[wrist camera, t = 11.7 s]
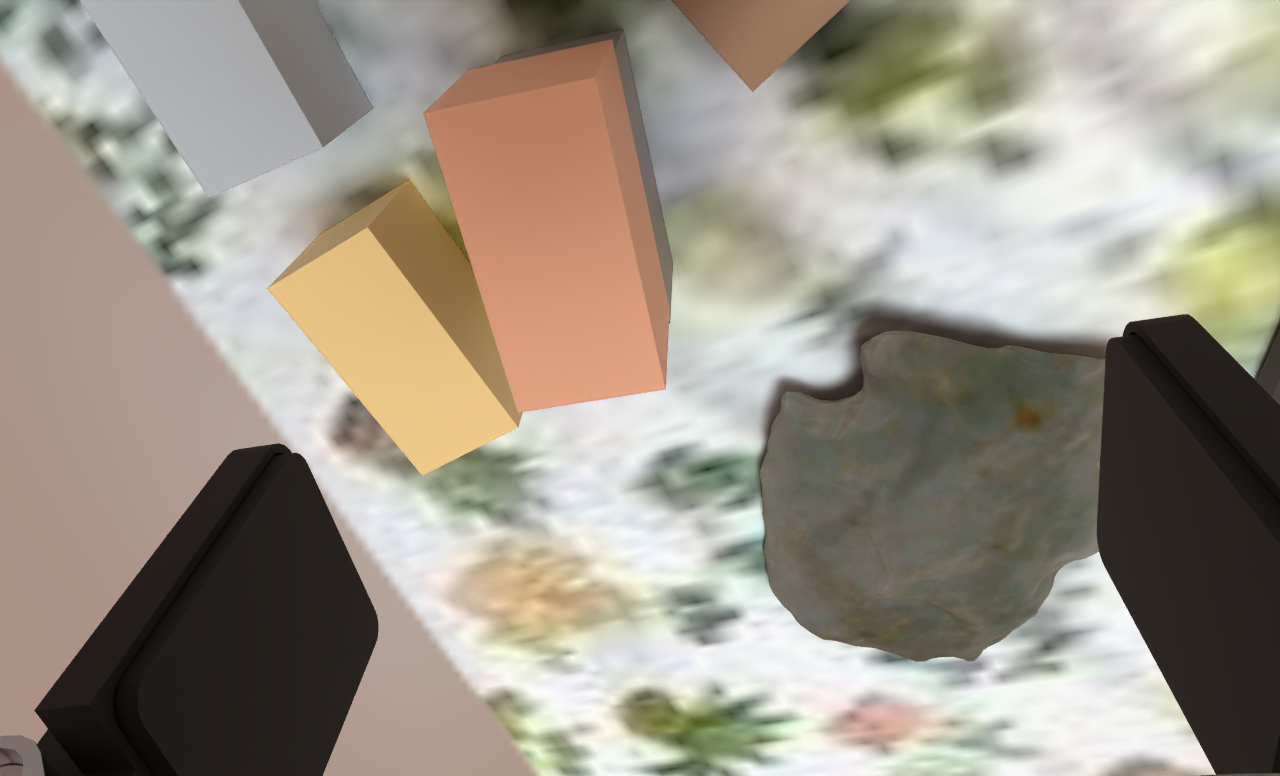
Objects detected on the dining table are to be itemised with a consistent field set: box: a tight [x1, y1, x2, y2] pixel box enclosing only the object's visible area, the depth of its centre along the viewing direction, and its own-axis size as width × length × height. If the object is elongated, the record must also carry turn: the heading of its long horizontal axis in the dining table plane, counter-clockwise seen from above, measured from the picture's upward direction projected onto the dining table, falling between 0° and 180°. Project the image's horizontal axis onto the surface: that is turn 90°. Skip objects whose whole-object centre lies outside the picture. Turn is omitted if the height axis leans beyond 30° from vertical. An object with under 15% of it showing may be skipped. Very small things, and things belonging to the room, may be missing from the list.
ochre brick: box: [267, 179, 523, 475], centre depth 32 cm, size 8×4×5 cm, turn 31°
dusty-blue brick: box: [80, 0, 373, 198], centre depth 28 cm, size 8×4×5 cm, turn 23°
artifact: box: [760, 331, 1106, 661], centre depth 36 cm, size 14×4×15 cm
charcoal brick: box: [495, 29, 673, 323], centre depth 30 cm, size 8×4×5 cm, turn 12°
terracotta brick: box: [424, 39, 670, 413], centre depth 25 cm, size 8×4×5 cm, turn 12°
